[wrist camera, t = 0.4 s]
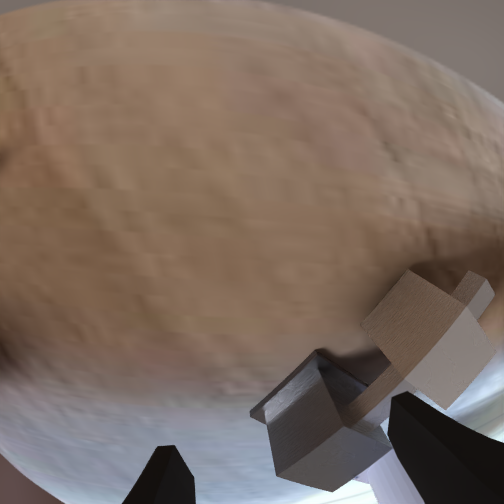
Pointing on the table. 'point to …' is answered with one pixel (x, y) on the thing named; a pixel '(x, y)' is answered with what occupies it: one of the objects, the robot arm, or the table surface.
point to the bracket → (429, 338)
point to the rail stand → (339, 412)
